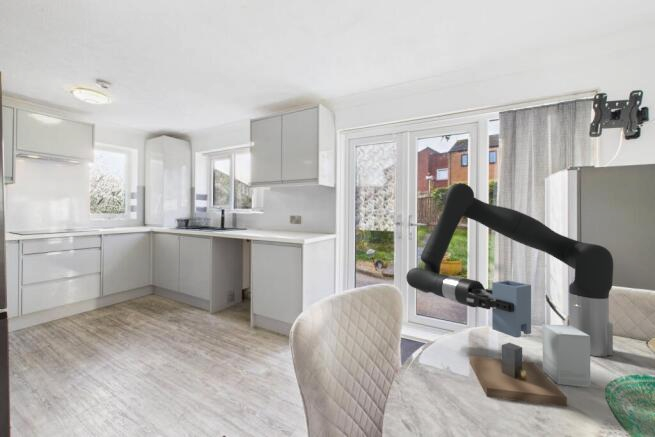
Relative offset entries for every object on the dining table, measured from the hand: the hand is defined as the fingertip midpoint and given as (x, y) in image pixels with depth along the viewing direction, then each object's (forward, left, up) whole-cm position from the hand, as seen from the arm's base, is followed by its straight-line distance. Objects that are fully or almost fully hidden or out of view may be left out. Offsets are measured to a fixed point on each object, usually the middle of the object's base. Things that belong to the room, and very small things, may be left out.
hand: (521, 306), depth 71 cm
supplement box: (-12, -7, -20) cm, 25 cm away
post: (+1, -2, -18) cm, 18 cm away
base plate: (+1, -2, -20) cm, 20 cm away
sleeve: (+2, -2, -7) cm, 7 cm away
